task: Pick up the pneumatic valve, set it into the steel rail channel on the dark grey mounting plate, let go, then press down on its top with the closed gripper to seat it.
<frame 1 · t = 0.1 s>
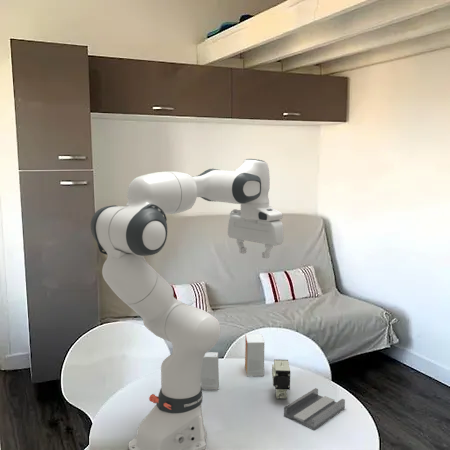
hand: (254, 255, 160), 48 cm above the table, tool pointing down, fingers open, 8 cm apart
rail plate: (314, 412, 158), on the table
small box: (254, 372, 186), on the table
skincare box: (209, 388, 174), on the table
pneumatic valve: (279, 396, 168), on the table
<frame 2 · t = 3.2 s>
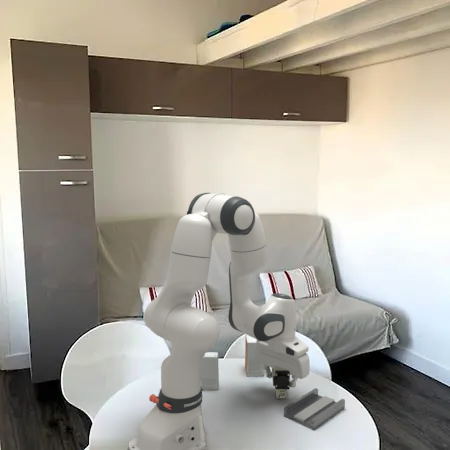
hand: (280, 382, 168), 5 cm above the table, tool pointing down, fingers open, 8 cm apart
nothing on the table moved.
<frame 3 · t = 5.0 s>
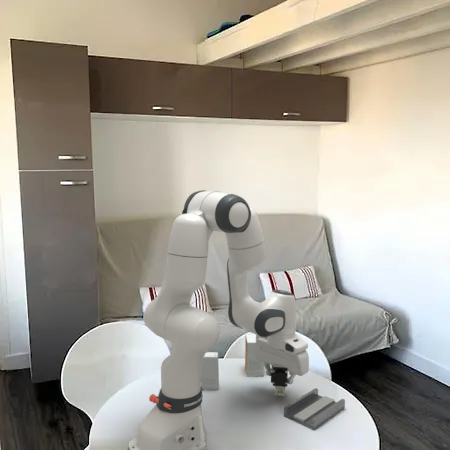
hand: (279, 379, 167), 6 cm above the table, tool pointing down, fingers closed on pneumatic valve, 7 cm apart
pneumatic valve: (278, 394, 168), point 1 cm above the table, touching gripper
everything else where it was.
when the fingers open (6 cm above the table, at t = 10.0 s): pneumatic valve stays where it is, resting on rail plate.
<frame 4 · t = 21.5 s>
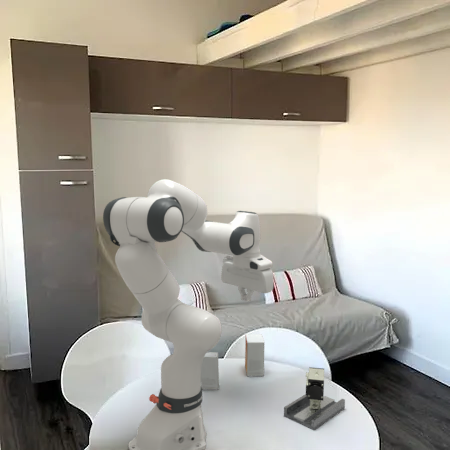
hand: (246, 300, 169), 31 cm above the table, tool pointing down, fingers closed
pneumatic valve: (313, 407, 159), point 1 cm above the table, touching rail plate
everything else where it was.
at the end: pneumatic valve 0.5 cm from the target spot, point 1.4 cm above the table; pneumatic valve tilted 0°; the gripper is holding nothing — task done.
